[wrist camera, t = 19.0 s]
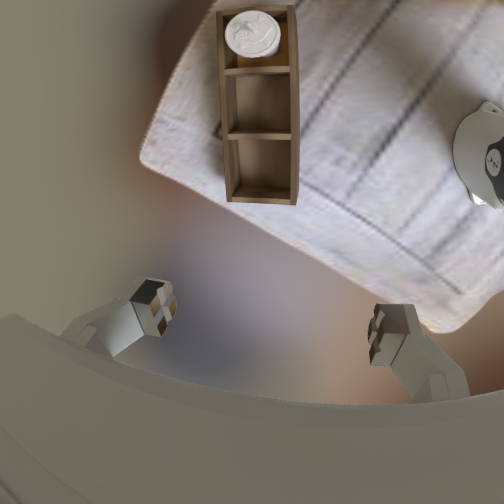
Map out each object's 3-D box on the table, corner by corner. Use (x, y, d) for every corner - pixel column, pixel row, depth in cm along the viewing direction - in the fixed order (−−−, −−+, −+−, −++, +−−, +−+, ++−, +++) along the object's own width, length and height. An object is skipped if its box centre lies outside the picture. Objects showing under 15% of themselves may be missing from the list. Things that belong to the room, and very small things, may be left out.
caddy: (296, 18, 28) (292, 5, 23) (298, 190, 43) (295, 205, 38) (228, 22, 31) (214, 12, 25) (236, 188, 46) (224, 201, 40)
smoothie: (293, 61, 32) (279, 43, 20) (250, 69, 34) (217, 58, 22) (283, 24, 28) (264, -8, 17) (241, 33, 30) (204, 9, 19)
